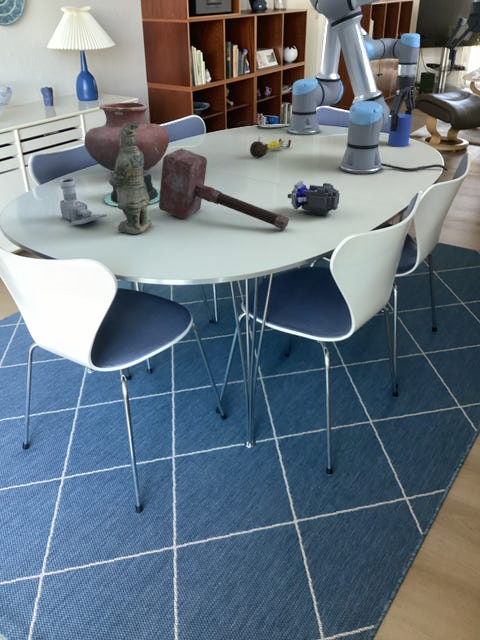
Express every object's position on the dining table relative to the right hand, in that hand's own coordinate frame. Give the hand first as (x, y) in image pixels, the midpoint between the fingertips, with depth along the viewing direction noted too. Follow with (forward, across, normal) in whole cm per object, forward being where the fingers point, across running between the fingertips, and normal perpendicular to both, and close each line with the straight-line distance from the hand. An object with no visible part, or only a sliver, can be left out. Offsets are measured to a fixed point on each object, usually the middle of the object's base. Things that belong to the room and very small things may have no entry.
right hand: (471, 71), depth 194 cm
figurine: (+34, +74, +12) cm, 82 cm away
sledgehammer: (+34, +45, +91) cm, 107 cm away
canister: (+34, +31, -26) cm, 53 cm away
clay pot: (+34, +105, +65) cm, 128 cm away
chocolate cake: (+34, +84, +87) cm, 126 cm away
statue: (+34, +64, +109) cm, 131 cm away
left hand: (+27, +30, -26) cm, 48 cm away
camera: (+34, +83, +112) cm, 144 cm away
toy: (+34, +25, +72) cm, 83 cm away
